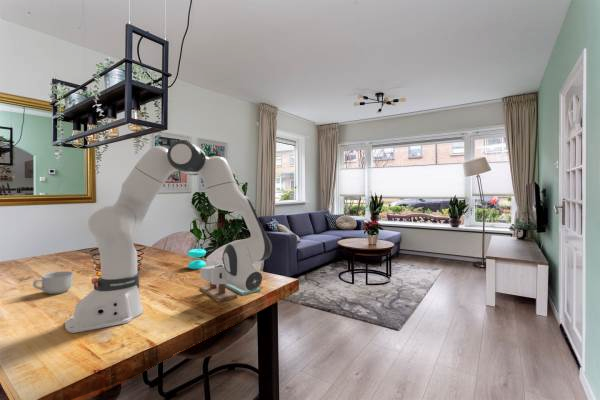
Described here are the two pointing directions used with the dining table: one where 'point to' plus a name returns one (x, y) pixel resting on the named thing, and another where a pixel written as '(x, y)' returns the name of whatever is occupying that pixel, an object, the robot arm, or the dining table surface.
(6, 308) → the dining table surface
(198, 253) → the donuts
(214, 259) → the rail
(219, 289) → the stand
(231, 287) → the board
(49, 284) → the teacup
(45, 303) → the dining table surface
